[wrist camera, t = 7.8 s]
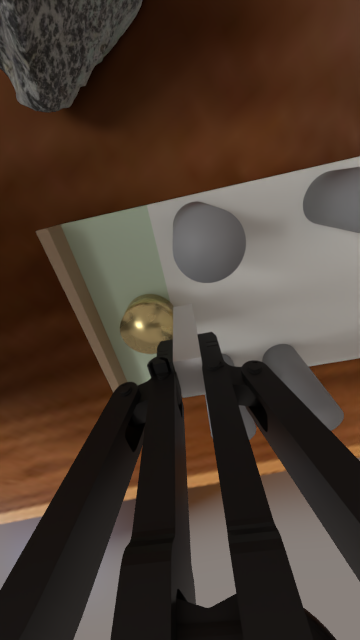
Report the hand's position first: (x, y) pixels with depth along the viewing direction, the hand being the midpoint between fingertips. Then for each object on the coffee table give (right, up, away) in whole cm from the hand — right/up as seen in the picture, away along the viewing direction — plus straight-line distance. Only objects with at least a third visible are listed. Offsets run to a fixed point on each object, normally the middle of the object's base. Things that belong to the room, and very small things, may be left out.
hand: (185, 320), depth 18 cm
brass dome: (-3, 0, +1) cm, 3 cm away
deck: (+6, +2, +2) cm, 7 cm away
